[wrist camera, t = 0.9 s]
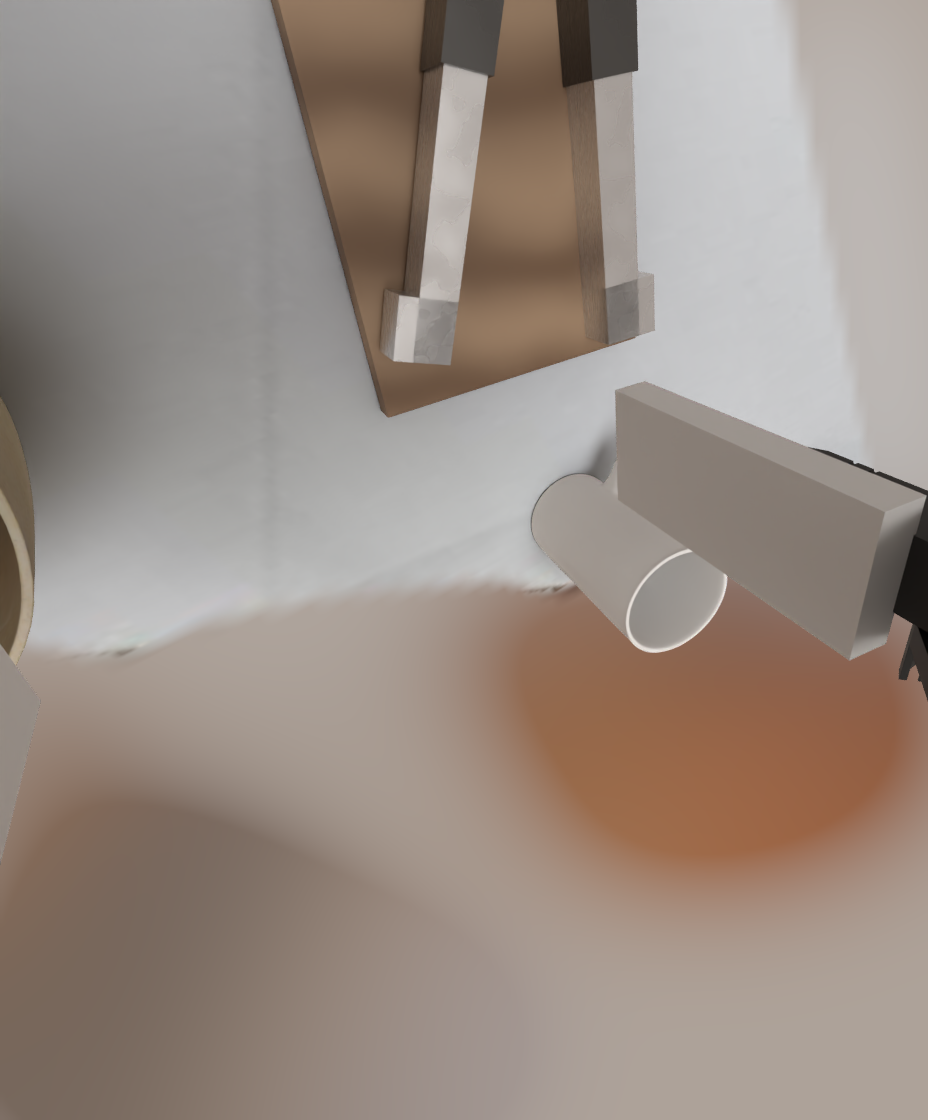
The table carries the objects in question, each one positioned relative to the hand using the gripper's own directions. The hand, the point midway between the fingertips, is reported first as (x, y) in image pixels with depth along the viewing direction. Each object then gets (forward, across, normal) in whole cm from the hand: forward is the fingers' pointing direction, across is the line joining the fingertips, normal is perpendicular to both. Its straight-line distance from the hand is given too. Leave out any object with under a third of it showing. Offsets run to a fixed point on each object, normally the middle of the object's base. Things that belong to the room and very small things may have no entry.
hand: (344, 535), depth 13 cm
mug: (+24, +18, -16) cm, 34 cm away
